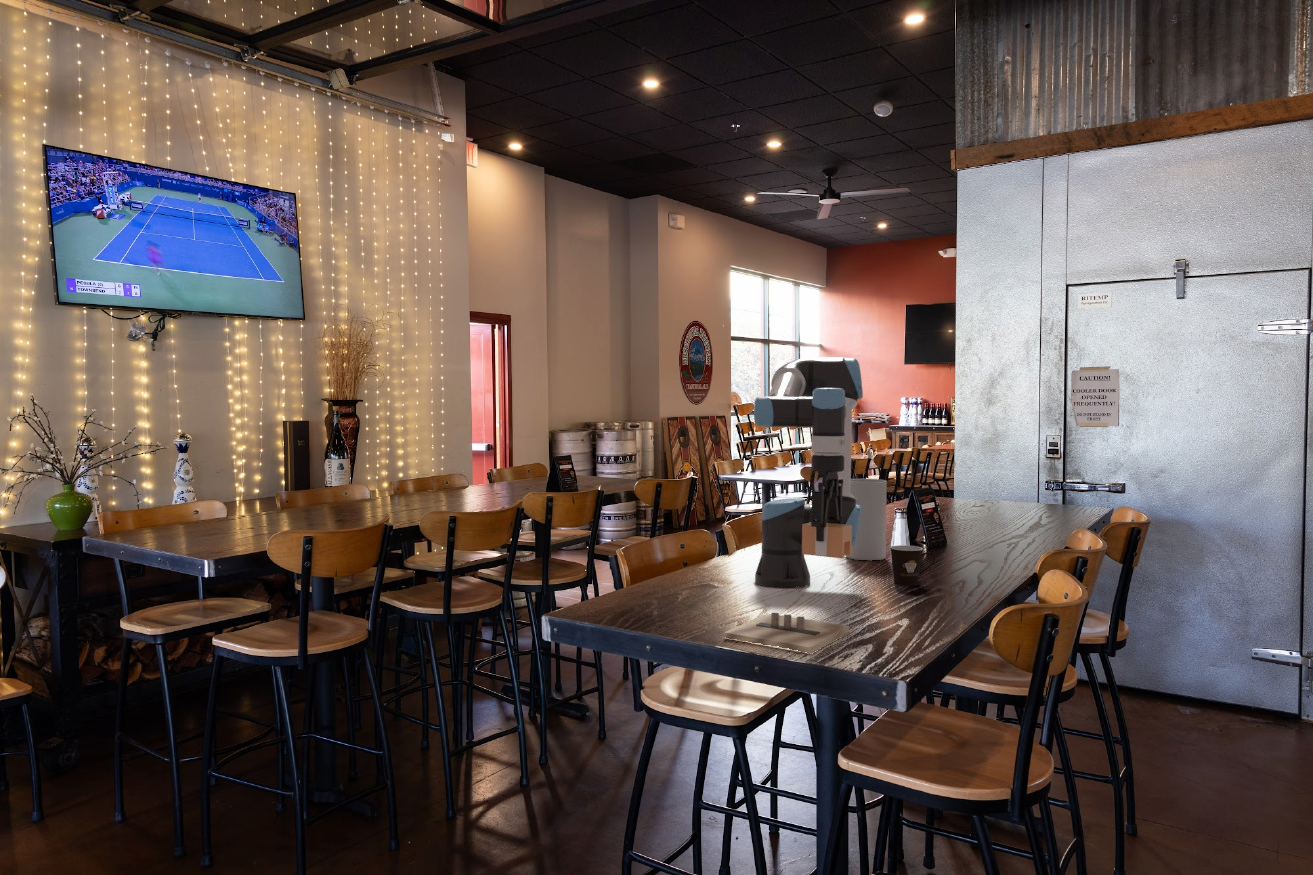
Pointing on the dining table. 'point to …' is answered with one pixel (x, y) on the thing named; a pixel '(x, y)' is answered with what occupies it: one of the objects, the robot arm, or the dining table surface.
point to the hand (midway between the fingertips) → (826, 553)
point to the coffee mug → (907, 564)
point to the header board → (788, 632)
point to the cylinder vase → (870, 519)
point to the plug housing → (829, 540)
